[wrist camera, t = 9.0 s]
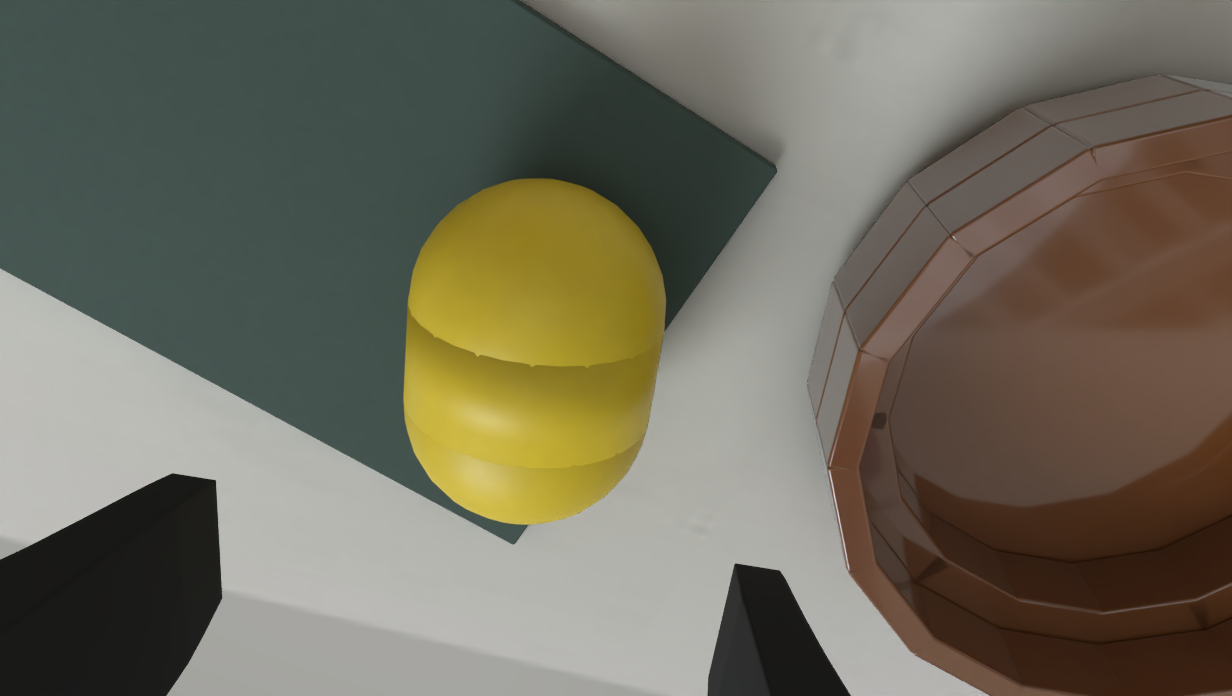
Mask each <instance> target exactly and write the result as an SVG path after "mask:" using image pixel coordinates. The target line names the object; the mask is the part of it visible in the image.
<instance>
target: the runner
mask: <svg viewBox="0 0 1232 696" xmlns="http://www.w3.org/2000/svg"><path fill="white" fill-rule="evenodd" d="M776 173H777V168H776V166H775V165H774V164H772V163H771V162H769V161H768V160H766V159H765V158H763V157H762V156H760V155H758V154H757V153H755V152H754V151H752V150H751V149H749V148H748V147H746V146H744V145H743V144H741V143H740V142H738V141H737V140H735V139H734V138H732V137H731V136H729V135H727V134H726V133H724V132H723V131H721V130H720V129H718V128H717V127H715V126H713V125H712V124H710V123H709V122H707V121H706V120H704V119H703V118H701V117H699V116H698V115H696V114H695V113H693V112H692V111H690V110H689V109H687V108H686V107H684V106H682V105H681V104H679V103H678V102H676V101H675V100H673V99H672V98H670V97H668V96H667V95H665V94H664V93H662V92H661V91H659V90H658V89H656V88H654V87H653V86H651V85H650V84H648V83H647V82H645V81H644V80H642V79H641V78H639V77H637V76H636V75H634V74H633V73H631V72H630V71H628V70H627V69H625V68H623V67H622V66H620V65H619V64H617V63H616V62H614V61H613V60H611V59H609V58H608V57H606V56H605V55H603V54H602V53H600V52H599V51H597V50H596V49H594V48H592V47H591V46H589V45H588V44H586V43H585V42H583V41H582V40H580V39H578V38H577V37H575V36H574V35H572V34H571V33H569V32H568V31H566V30H564V29H563V28H561V27H560V26H558V25H557V24H555V23H554V22H552V21H551V20H549V19H547V18H546V17H544V16H543V15H541V14H540V13H538V12H537V11H535V10H533V9H532V8H530V7H529V6H527V5H526V4H524V3H523V2H521V1H519V0H0V268H1V269H2V270H4V271H6V272H8V273H10V274H12V275H14V276H15V277H17V278H19V279H21V280H23V281H25V282H27V283H28V284H30V285H32V286H34V287H36V288H38V289H40V290H41V291H43V292H45V293H47V294H49V295H51V296H53V297H54V298H56V299H58V300H60V301H62V302H64V303H66V304H67V305H69V306H71V307H73V308H75V309H77V310H79V311H80V312H82V313H84V314H86V315H88V316H90V317H92V318H93V319H95V320H97V321H99V322H101V323H103V324H105V325H106V326H108V327H110V328H112V329H114V330H116V331H118V332H119V333H121V334H123V335H125V336H127V337H129V338H131V339H132V340H134V341H136V342H138V343H140V344H142V345H143V346H145V347H147V348H149V349H151V350H153V351H155V352H156V353H158V354H160V355H162V356H164V357H166V358H168V359H169V360H171V361H173V362H175V363H177V364H179V365H181V366H182V367H184V368H186V369H188V370H190V371H192V372H194V373H195V374H197V375H199V376H201V377H203V378H205V379H207V380H208V381H210V382H212V383H214V384H216V385H218V386H220V387H221V388H223V389H225V390H227V391H229V392H231V393H233V394H234V395H236V396H238V397H240V398H242V399H244V400H246V401H247V402H249V403H251V404H253V405H255V406H257V407H259V408H260V409H262V410H264V411H266V412H268V413H270V414H272V415H273V416H275V417H277V418H279V419H281V420H283V421H285V422H286V423H288V424H290V425H292V426H294V427H296V428H298V429H299V430H301V431H303V432H305V433H307V434H309V435H311V436H312V437H314V438H316V439H318V440H320V441H322V442H324V443H325V444H327V445H329V446H331V447H333V448H335V449H337V450H338V451H340V452H342V453H344V454H346V455H348V456H350V457H351V458H353V459H355V460H357V461H359V462H361V463H362V464H364V465H366V466H368V467H370V468H372V469H374V470H375V471H377V472H379V473H381V474H383V475H385V476H387V477H388V478H390V479H392V480H394V481H396V482H398V483H400V484H401V485H403V486H405V487H407V488H409V489H411V490H413V491H414V492H416V493H418V494H420V495H422V496H424V497H426V498H427V499H429V500H431V501H433V502H435V503H437V504H439V505H440V506H442V507H444V508H446V509H448V510H450V511H452V512H453V513H455V514H457V515H459V516H461V517H463V518H465V519H466V520H468V521H470V522H472V523H474V524H476V525H478V526H479V527H481V528H483V529H485V530H487V531H489V532H491V533H492V534H494V535H496V536H498V537H500V538H502V539H504V540H505V541H507V542H509V543H511V544H515V543H516V542H517V540H518V539H519V537H520V536H521V535H522V533H523V532H524V530H525V529H526V527H527V526H528V525H523V524H510V523H503V522H499V521H495V520H492V519H488V518H486V517H483V516H481V515H478V514H476V513H474V512H471V511H469V510H467V509H465V508H464V507H462V506H460V505H459V504H457V503H456V502H454V501H453V500H452V499H451V498H450V497H449V496H447V495H446V494H445V493H444V492H443V491H442V490H441V489H440V488H439V487H438V486H437V485H436V484H435V483H434V482H432V481H431V479H430V477H429V476H428V474H427V473H426V471H425V470H424V468H423V466H422V465H421V463H420V462H419V460H418V458H417V457H416V455H415V453H414V451H413V448H412V444H411V441H410V438H409V435H408V431H407V427H406V423H405V415H404V401H403V397H404V375H405V353H406V330H407V308H408V296H409V292H410V285H411V279H412V273H413V269H414V266H415V264H416V261H417V259H418V256H419V254H420V251H421V248H422V247H423V245H424V244H425V242H426V241H427V239H428V238H429V236H430V235H431V233H432V232H433V230H434V229H435V227H436V226H437V225H438V223H439V222H440V221H441V220H442V219H443V218H444V217H445V216H446V215H447V214H448V213H449V212H450V211H451V210H453V209H454V208H455V207H456V206H457V205H458V204H460V203H461V202H463V201H465V200H466V199H468V198H470V197H471V196H473V195H475V194H476V193H478V192H480V191H481V190H483V189H486V188H489V187H492V186H495V185H498V184H501V183H504V182H507V181H511V180H516V179H531V178H544V179H555V180H560V181H565V182H569V183H573V184H576V185H580V186H583V187H586V188H588V189H590V190H592V191H594V192H596V193H598V194H599V195H601V196H602V197H604V198H606V199H607V200H609V201H611V202H612V203H614V204H615V205H617V206H618V207H619V208H620V209H621V210H622V211H623V212H624V213H625V214H626V215H627V216H628V217H629V218H630V219H631V220H632V221H633V222H634V223H635V224H636V225H637V226H638V227H639V229H640V230H641V232H642V233H643V235H644V236H645V238H646V239H647V241H648V243H649V244H650V246H651V248H652V250H653V252H654V254H655V257H656V259H657V262H658V265H659V267H660V270H661V273H662V275H663V282H664V288H665V295H666V311H665V329H664V332H665V330H666V329H667V327H668V326H669V324H670V323H671V322H672V320H673V319H674V317H675V316H676V314H677V313H678V312H679V310H680V309H681V307H682V306H683V305H684V303H685V302H686V300H687V299H688V297H689V296H690V295H691V293H692V292H693V290H694V289H695V288H696V286H697V285H698V283H699V282H700V280H701V279H702V278H703V276H704V275H705V273H706V272H707V270H708V269H709V268H710V266H711V265H712V263H713V262H714V261H715V259H716V258H717V256H718V255H719V253H720V252H721V251H722V249H723V248H724V246H725V245H726V244H727V242H728V241H729V239H730V238H731V236H732V235H733V234H734V232H735V231H736V229H737V228H738V226H739V225H740V224H741V222H742V221H743V219H744V218H745V217H746V215H747V214H748V212H749V211H750V209H751V208H752V207H753V205H754V204H755V202H756V201H757V200H758V198H759V197H760V195H761V194H762V192H763V191H764V190H765V188H766V187H767V185H768V184H769V182H770V181H771V180H772V178H773V177H774V175H775V174H776Z"/></svg>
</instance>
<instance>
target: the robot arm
mask: <svg viewBox="0 0 1232 696" xmlns="http://www.w3.org/2000/svg"><path fill="white" fill-rule="evenodd" d="M221 599H222V587H221V568H220V549H219V531H218V512H217V494H216V480H210V479H204V478H198V477H192V476H185V475H179V474H170V475H168V476H166V477H164V478H161V479H159V480H157V481H155V482H153V483H151V484H149V485H147V486H145V487H143V488H141V489H139V490H137V491H135V492H133V493H131V494H129V495H127V496H125V497H123V498H121V499H119V500H118V501H116V502H114V503H112V504H110V505H108V506H106V507H104V508H102V509H100V510H98V511H97V512H95V513H93V514H91V515H89V516H87V517H85V518H83V519H81V520H79V521H77V522H75V523H73V524H71V525H69V526H68V527H66V528H64V529H62V530H60V531H58V532H56V533H54V534H52V535H50V536H48V537H46V538H44V539H42V540H40V541H38V542H36V543H34V544H32V545H30V546H28V547H26V548H24V549H22V550H20V551H18V552H16V553H14V554H12V555H9V556H7V557H5V558H3V559H1V560H0V696H166V695H167V694H168V692H169V691H170V689H171V688H172V687H173V685H174V684H175V682H176V681H177V679H178V678H179V676H180V675H181V673H182V672H183V670H184V669H185V667H186V666H187V665H188V663H189V661H190V659H191V657H192V656H193V654H194V652H195V650H196V648H197V646H198V645H199V643H200V641H201V639H202V637H203V635H204V633H205V631H206V629H207V627H208V625H209V623H210V621H211V619H212V617H213V615H214V613H215V611H216V609H217V607H218V605H219V603H220V601H221ZM708 696H851V695H850V694H849V692H848V691H847V689H846V687H845V686H844V684H843V682H842V681H841V679H840V677H839V676H838V674H837V673H836V671H835V669H834V668H833V666H832V664H831V663H830V661H829V660H828V658H827V656H826V654H825V653H824V651H823V649H822V647H821V646H820V644H819V642H818V640H817V639H816V637H815V635H814V633H813V631H812V629H811V628H810V626H809V624H808V622H807V620H806V618H805V617H804V615H803V613H802V611H801V609H800V607H799V605H798V603H797V601H796V599H795V597H794V595H793V593H792V591H791V589H790V587H789V585H788V583H787V581H786V579H785V578H784V576H783V575H782V574H781V572H780V571H779V570H773V569H766V568H760V567H754V566H748V565H741V564H735V565H734V569H733V574H732V578H731V582H730V587H729V591H728V595H727V600H726V604H725V608H724V612H723V617H722V621H721V625H720V630H719V634H718V638H717V643H716V647H715V651H714V656H713V660H712V664H711V668H710V673H709V677H708Z"/></svg>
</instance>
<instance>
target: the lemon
mask: <svg viewBox="0 0 1232 696" xmlns="http://www.w3.org/2000/svg"><path fill="white" fill-rule="evenodd" d="M665 311H666V295H665V288H664V282H663V275H662V273H661V270H660V267H659V265H658V262H657V259H656V257H655V254H654V252H653V250H652V248H651V246H650V244H649V243H648V241H647V239H646V238H645V236H644V235H643V233H642V232H641V230H640V229H639V227H638V226H637V225H636V224H635V223H634V222H633V221H632V220H631V219H630V218H629V217H628V216H627V215H626V214H625V213H624V212H623V211H622V210H621V209H620V208H619V207H618V206H617V205H615V204H614V203H612V202H611V201H609V200H607V199H606V198H604V197H602V196H601V195H599V194H598V193H596V192H594V191H592V190H590V189H588V188H586V187H583V186H580V185H576V184H573V183H569V182H565V181H560V180H555V179H544V178H531V179H516V180H511V181H507V182H504V183H501V184H498V185H495V186H492V187H489V188H486V189H483V190H481V191H480V192H478V193H476V194H475V195H473V196H471V197H470V198H468V199H466V200H465V201H463V202H461V203H460V204H458V205H457V206H456V207H455V208H454V209H453V210H451V211H450V212H449V213H448V214H447V215H446V216H445V217H444V218H443V219H442V220H441V221H440V222H439V223H438V225H437V226H436V227H435V229H434V230H433V232H432V233H431V235H430V236H429V238H428V239H427V241H426V242H425V244H424V245H423V247H422V248H421V251H420V254H419V256H418V259H417V261H416V264H415V266H414V269H413V273H412V279H411V285H410V292H409V296H408V308H407V330H406V353H405V375H404V397H403V401H404V415H405V423H406V427H407V431H408V435H409V438H410V441H411V444H412V448H413V451H414V453H415V455H416V457H417V458H418V460H419V462H420V463H421V465H422V466H423V468H424V470H425V471H426V473H427V474H428V476H429V477H430V479H431V481H432V482H434V483H435V484H436V485H437V486H438V487H439V488H440V489H441V490H442V491H443V492H444V493H445V494H446V495H447V496H449V497H450V498H451V499H452V500H453V501H454V502H456V503H457V504H459V505H460V506H462V507H464V508H465V509H467V510H469V511H471V512H474V513H476V514H478V515H481V516H483V517H486V518H488V519H492V520H495V521H499V522H503V523H510V524H523V525H531V524H542V523H547V522H552V521H556V520H561V519H565V518H568V517H570V516H573V515H575V514H578V513H580V512H581V511H583V510H585V509H586V508H588V507H590V506H591V505H593V504H594V503H596V502H598V501H599V500H601V499H602V498H604V497H605V496H606V495H607V494H608V493H609V492H610V491H611V490H612V489H613V488H614V487H615V486H616V485H617V484H618V483H619V481H620V480H621V479H622V478H623V477H624V476H625V475H626V474H627V472H628V471H629V469H630V467H631V465H632V463H633V462H634V460H635V458H636V456H637V454H638V452H639V450H640V448H641V446H642V444H643V440H644V437H645V434H646V430H647V427H648V422H649V416H650V411H651V405H652V399H653V393H654V388H655V382H656V376H657V370H658V364H659V359H660V353H661V347H662V341H663V336H664V329H665Z"/></svg>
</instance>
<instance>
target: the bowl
mask: <svg viewBox="0 0 1232 696" xmlns="http://www.w3.org/2000/svg"><path fill="white" fill-rule="evenodd" d="M807 382H808V384H807V388H808V393H809V398H810V403H811V408H812V413H813V418H814V423H815V428H816V433H817V438H818V443H819V448H820V453H821V458H822V463H823V468H824V473H825V478H826V482H827V487H828V491H829V495H830V500H831V504H832V508H833V513H834V517H835V521H836V526H837V530H838V534H839V539H840V543H841V547H842V552H843V556H844V560H845V565H846V568H847V570H848V572H849V575H850V576H851V577H852V578H853V580H854V581H855V582H856V583H857V585H858V586H859V587H860V588H861V590H862V591H863V592H864V594H865V595H866V596H867V597H868V599H869V600H870V601H871V602H872V604H873V605H874V606H875V608H876V609H877V610H878V611H879V613H880V614H881V615H882V616H883V618H884V619H885V620H886V621H887V623H888V624H889V625H890V627H891V628H892V629H893V630H894V632H895V633H896V634H897V635H898V637H899V638H900V639H901V640H902V642H903V643H904V644H905V646H906V647H907V648H908V649H909V650H910V651H911V652H913V654H914V655H915V656H917V657H919V658H921V659H923V660H925V661H927V662H929V663H930V664H932V665H934V666H936V667H938V668H940V669H942V670H943V671H945V672H947V673H949V674H951V675H953V676H955V677H956V678H958V679H960V680H962V681H964V682H966V683H968V684H969V685H971V686H973V687H975V688H977V689H979V690H981V691H982V692H984V693H986V694H988V695H990V696H1232V84H1227V83H1220V82H1213V81H1207V80H1200V79H1194V78H1187V77H1180V76H1174V75H1167V74H1161V75H1152V76H1148V77H1144V78H1139V79H1135V80H1131V81H1127V82H1122V83H1118V84H1114V85H1110V86H1105V87H1101V88H1097V89H1093V90H1088V91H1084V92H1080V93H1076V94H1071V95H1067V96H1063V97H1059V98H1054V99H1050V100H1046V101H1042V102H1037V103H1033V104H1029V105H1026V106H1024V107H1023V108H1018V109H1017V110H1015V111H1013V112H1012V113H1010V114H1009V115H1007V116H1006V117H1004V118H1003V119H1001V120H1000V121H998V122H997V123H995V124H993V125H992V126H990V127H989V128H987V129H986V130H984V131H983V132H981V133H980V134H978V135H977V136H975V137H973V138H972V139H970V140H969V141H967V142H966V143H964V144H963V145H961V146H960V147H958V148H957V149H955V150H953V151H952V152H950V153H949V154H947V155H946V156H944V157H943V158H941V159H940V160H938V161H937V162H935V163H934V164H932V165H930V166H929V167H927V168H926V169H924V170H923V171H921V172H920V173H918V174H917V175H915V176H914V177H912V178H910V179H909V181H908V182H906V183H905V184H904V185H903V186H902V188H901V189H900V190H899V192H898V193H897V194H896V196H895V197H894V198H893V200H892V201H891V202H890V204H889V205H888V206H887V208H886V209H885V210H884V212H883V213H882V214H881V216H880V217H879V219H878V220H877V221H876V223H875V224H874V225H873V227H872V228H871V229H870V231H869V232H868V233H867V235H866V236H865V237H864V239H863V240H862V241H861V243H860V244H859V245H858V247H857V248H856V249H855V251H854V252H853V253H852V255H851V256H850V257H849V259H848V260H847V261H846V263H845V264H844V265H843V267H842V268H841V269H840V271H839V272H838V274H837V275H836V276H835V278H834V281H833V282H832V285H831V289H830V293H829V297H828V301H827V305H826V309H825V313H824V317H823V321H822V325H821V329H820V333H819V337H818V341H817V345H816V349H815V353H814V356H813V360H812V364H811V368H810V372H809V376H808V380H807Z"/></svg>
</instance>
